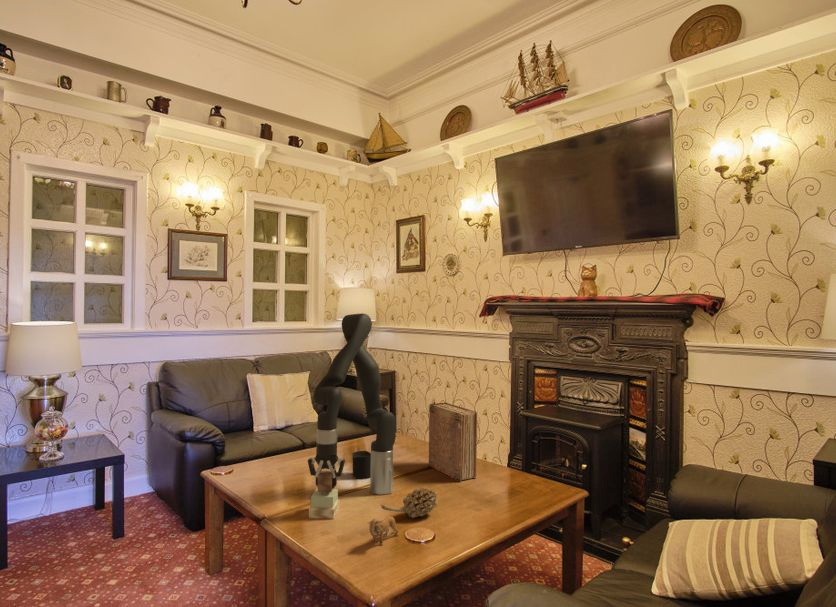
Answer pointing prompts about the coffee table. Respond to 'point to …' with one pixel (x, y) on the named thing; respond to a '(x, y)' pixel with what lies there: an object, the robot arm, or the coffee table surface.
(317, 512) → the block
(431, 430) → the book
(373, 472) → the robot arm
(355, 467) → the pen holder
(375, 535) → the lion figurine
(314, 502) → the tower top
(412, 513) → the pine cone
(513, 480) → the coffee table surface
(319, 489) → the walnut block
